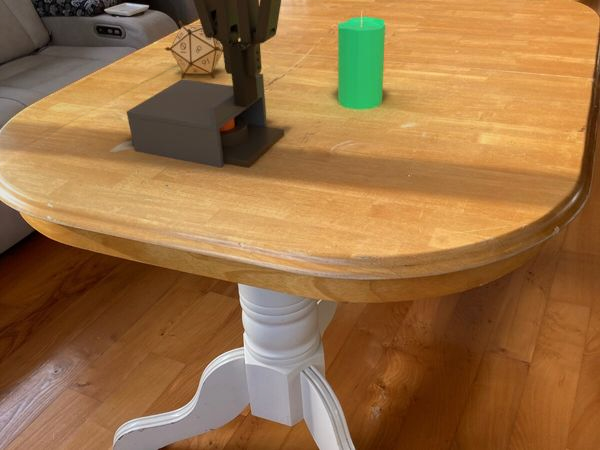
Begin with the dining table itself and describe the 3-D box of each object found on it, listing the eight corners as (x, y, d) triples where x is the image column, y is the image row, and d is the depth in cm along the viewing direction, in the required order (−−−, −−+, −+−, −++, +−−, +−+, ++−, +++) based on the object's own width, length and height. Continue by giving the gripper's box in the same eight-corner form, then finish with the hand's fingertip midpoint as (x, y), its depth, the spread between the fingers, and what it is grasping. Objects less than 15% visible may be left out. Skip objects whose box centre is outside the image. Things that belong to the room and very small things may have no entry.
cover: (134, 151, 69) (122, 94, 65) (187, 116, 78) (179, 63, 74) (221, 168, 65) (213, 108, 61) (267, 128, 73) (263, 73, 69)
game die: (213, 94, 94) (244, 39, 92) (198, 94, 86) (232, 33, 84) (166, 64, 94) (195, 8, 92) (146, 61, 86) (178, -1, 83)
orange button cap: (202, 130, 68) (200, 118, 68) (216, 120, 71) (215, 108, 70) (226, 134, 67) (224, 122, 66) (239, 124, 70) (238, 111, 69)
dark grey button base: (132, 146, 71) (128, 127, 69) (175, 118, 77) (172, 100, 76) (249, 168, 65) (247, 148, 63) (284, 136, 71) (283, 116, 70)
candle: (371, 90, 83) (374, 2, 76) (389, 105, 78) (394, 13, 71) (331, 97, 81) (331, 8, 75) (347, 112, 77) (348, 19, 70)
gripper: (306, -150, 53) (312, 97, 66) (186, -146, 58) (214, 84, 71) (268, -147, 47) (283, 123, 61) (139, -142, 52) (179, 107, 65)
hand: (246, 102), depth 66 cm, fingers closed
